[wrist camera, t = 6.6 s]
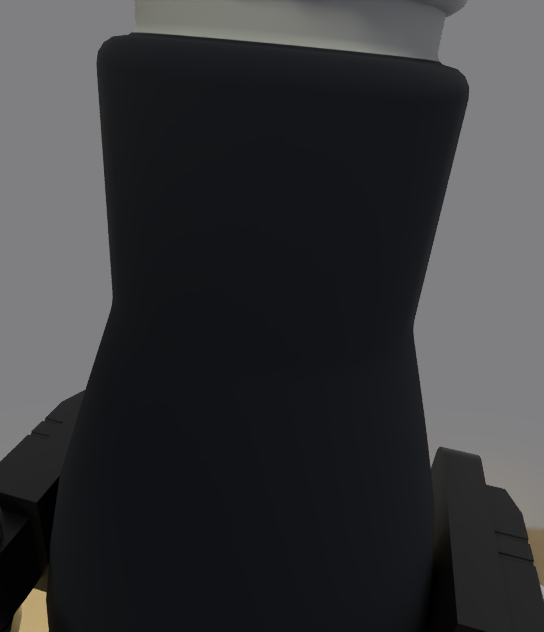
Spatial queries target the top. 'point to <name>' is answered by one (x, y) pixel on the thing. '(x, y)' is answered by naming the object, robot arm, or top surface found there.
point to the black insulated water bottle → (261, 323)
